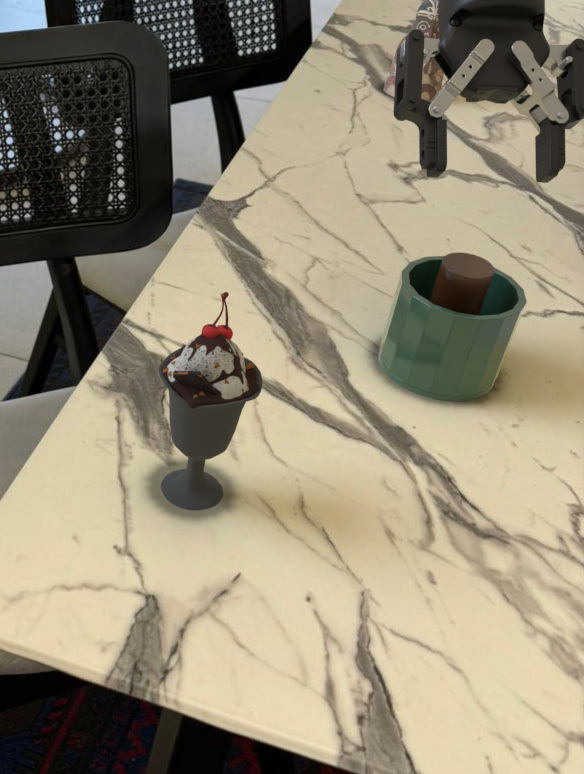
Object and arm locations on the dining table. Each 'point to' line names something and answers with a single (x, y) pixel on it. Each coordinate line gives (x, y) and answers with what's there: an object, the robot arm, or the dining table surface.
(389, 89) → the figurine
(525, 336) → the dining table surface
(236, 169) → the dining table surface
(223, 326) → the sundae
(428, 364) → the crock
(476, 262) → the pestle
